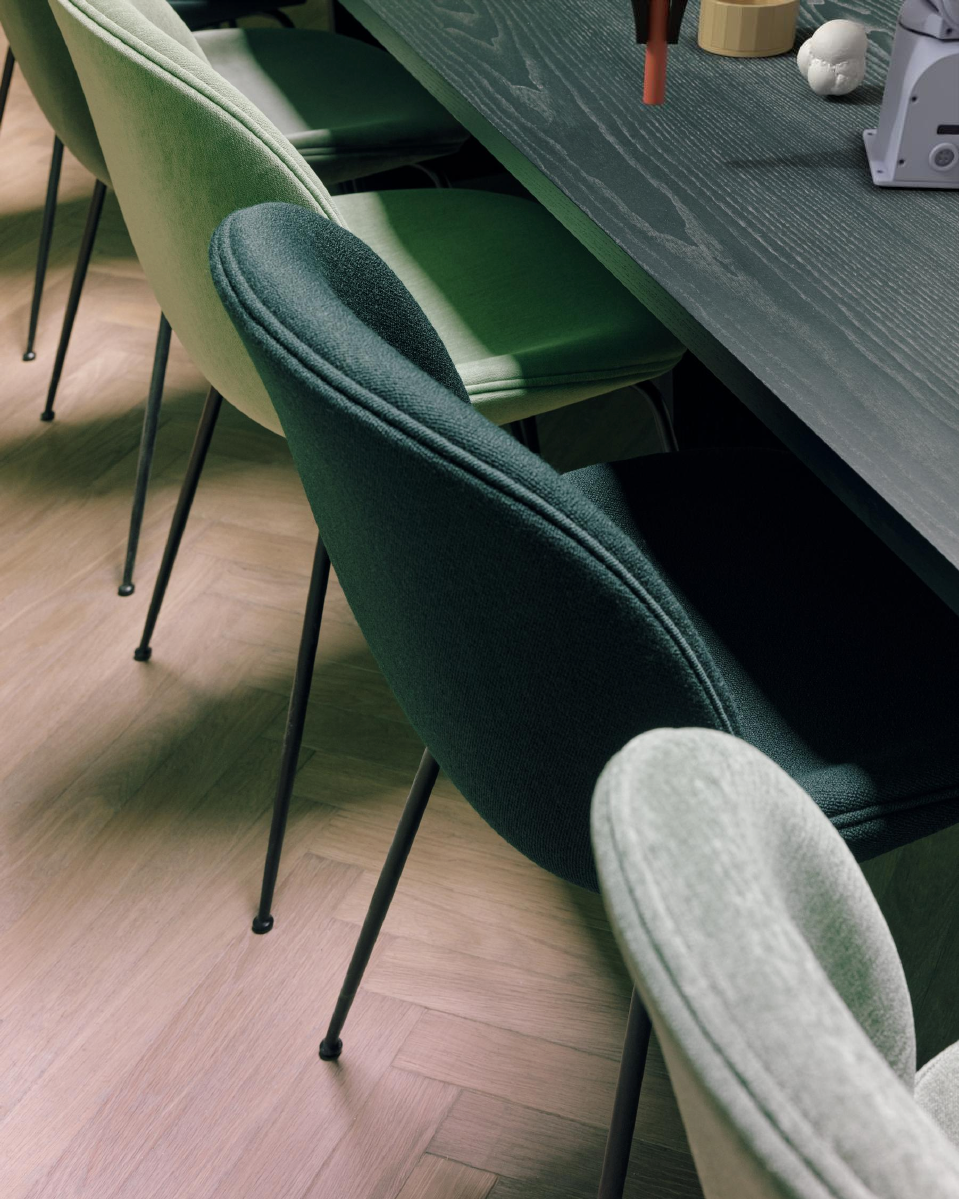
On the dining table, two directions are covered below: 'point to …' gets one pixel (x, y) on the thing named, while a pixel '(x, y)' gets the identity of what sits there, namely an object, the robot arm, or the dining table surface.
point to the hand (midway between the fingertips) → (657, 39)
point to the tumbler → (747, 27)
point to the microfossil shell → (834, 58)
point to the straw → (656, 51)
